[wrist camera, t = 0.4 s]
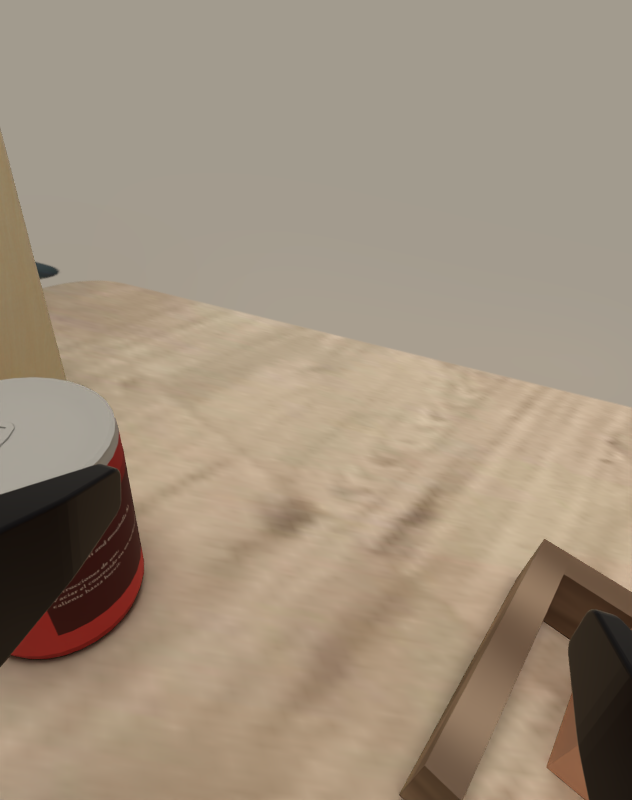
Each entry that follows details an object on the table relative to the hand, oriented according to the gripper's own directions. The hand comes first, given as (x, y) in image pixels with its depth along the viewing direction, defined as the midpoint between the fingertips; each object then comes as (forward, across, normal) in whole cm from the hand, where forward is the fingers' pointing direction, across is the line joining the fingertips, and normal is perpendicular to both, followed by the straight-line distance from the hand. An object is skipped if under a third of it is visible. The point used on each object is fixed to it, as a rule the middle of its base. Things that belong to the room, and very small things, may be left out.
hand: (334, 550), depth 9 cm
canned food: (+8, +13, +16) cm, 22 cm away
